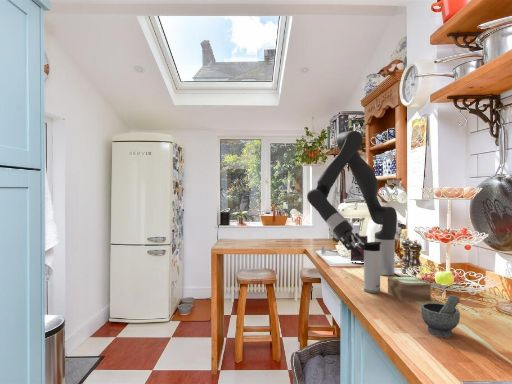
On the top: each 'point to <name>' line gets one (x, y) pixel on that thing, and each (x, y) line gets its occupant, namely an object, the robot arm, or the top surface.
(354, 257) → the supplement box
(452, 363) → the top surface
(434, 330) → the mortar and pestle
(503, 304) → the top surface
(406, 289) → the block
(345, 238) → the robot arm
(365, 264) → the travel mug
